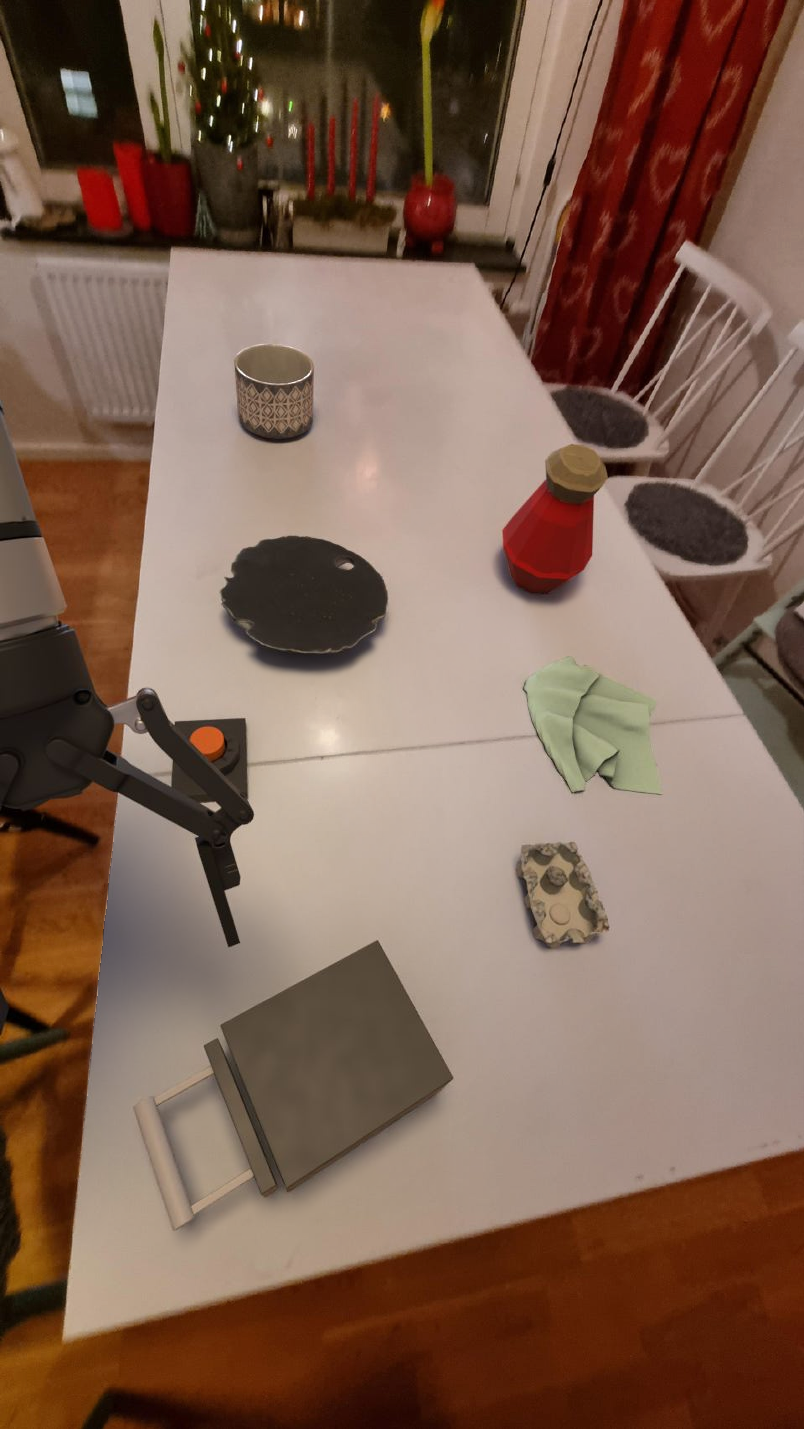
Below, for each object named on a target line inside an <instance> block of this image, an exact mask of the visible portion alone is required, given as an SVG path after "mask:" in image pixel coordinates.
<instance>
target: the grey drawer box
mask: <svg viewBox="0 0 804 1429" xmlns="http://www.w3.org/2000/svg"><path fill="white" fill-rule="evenodd" d="M220 1030H221V1031H222V1034H223V1037H224V1039H225V1042H226V1044H227V1047H228V1049H229V1052H230V1054H231V1057H232V1060H233V1062H234V1064H235V1066H236V1070H237V1072H238V1074H239V1076H240V1079H241V1081H242V1083H243V1086H244V1089H245V1091H246V1093H247V1096H248V1098H249V1101H250V1104H251V1106H252V1108H253V1111H254V1113H255V1116H256V1118H257V1121H258V1123H259V1125H260V1128H261V1130H262V1134H263V1136H264V1138H265V1140H266V1141H265V1142H266V1143H267V1146H268V1148H269V1150H270V1153H271V1155H272V1158H273V1160H274V1163H275V1165H276V1168H277V1170H278V1172H279V1173H278V1174H279V1175H280V1178H281V1180H282V1183H283V1186H284V1187H285V1190H286V1193H290V1192H291V1191H293V1190H294V1189H296V1188H298V1187H299V1186H300V1185H302V1184H303V1183H305V1182H306V1181H308V1180H309V1179H311V1178H313V1177H314V1176H315V1175H317V1174H319V1173H320V1172H322V1171H324V1169H326V1168H328V1167H330V1165H332V1164H334V1163H335V1162H337V1161H338V1160H340V1159H342V1158H343V1157H344V1156H345V1155H348V1154H349V1153H350V1152H352V1151H354V1150H355V1149H357V1148H358V1147H359V1146H361V1145H362V1144H364V1143H365V1142H367V1141H369V1140H370V1139H372V1138H373V1137H374V1136H376V1135H377V1134H379V1133H381V1132H382V1131H384V1130H385V1129H386V1128H388V1127H390V1126H391V1125H393V1124H394V1123H395V1122H398V1121H399V1120H400V1119H401V1118H403V1117H405V1116H406V1115H407V1114H409V1113H411V1112H413V1111H414V1110H415V1109H417V1108H418V1107H420V1106H421V1105H423V1104H424V1103H426V1102H427V1101H429V1100H430V1099H432V1098H434V1097H435V1096H437V1094H439V1093H440V1092H441V1091H442V1090H444V1088H445V1087H446V1086H447V1085H449V1083H451V1082H452V1081H453V1080H454V1076H453V1074H452V1071H451V1070H450V1069H449V1067H448V1065H447V1063H446V1062H445V1060H444V1057H443V1056H442V1054H441V1052H440V1050H439V1048H438V1047H437V1045H436V1043H435V1041H434V1040H433V1037H432V1036H431V1034H430V1032H429V1030H428V1029H427V1027H426V1025H425V1023H424V1021H423V1019H422V1018H421V1016H420V1014H419V1012H418V1010H417V1008H416V1007H415V1005H414V1003H413V1001H412V999H411V997H410V996H409V993H408V992H407V990H406V988H405V987H404V984H403V983H402V981H401V980H400V978H399V976H398V974H397V972H396V970H395V969H394V967H393V964H392V963H391V961H390V960H389V957H388V955H387V954H386V952H385V950H384V948H383V947H382V945H381V943H380V941H379V940H378V939H376V940H374V941H373V942H371V943H369V944H366V945H365V946H364V947H362V948H360V949H357V950H356V951H354V952H352V953H351V954H349V955H347V956H344V957H343V958H341V959H339V960H337V961H336V962H333V963H332V964H330V965H328V966H326V967H324V968H322V969H320V970H319V971H317V972H315V973H314V974H312V975H310V976H308V977H306V978H304V979H302V980H300V981H299V982H297V983H295V984H293V985H291V986H289V987H287V988H285V989H284V990H281V991H280V992H278V993H277V994H275V995H273V996H270V997H269V998H267V999H266V1000H263V1001H261V1002H260V1003H258V1004H256V1005H254V1006H252V1007H251V1008H248V1009H247V1010H245V1011H243V1012H241V1013H240V1014H238V1015H236V1016H234V1017H233V1018H230V1019H228V1020H227V1021H224V1022H223V1023H221V1024H220Z"/></svg>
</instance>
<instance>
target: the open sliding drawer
mask: <svg viewBox="0 0 804 1429" xmlns="http://www.w3.org/2000/svg"><path fill="white" fill-rule="evenodd" d="M203 1048H204V1051H205V1053H206V1054H205V1055H206V1056H207V1059H208V1061H209V1063H210V1066H208V1067H205V1069H203V1070H201V1071H199V1072H197V1073H195V1074H194V1075H192V1076H189V1077H188V1078H186V1079H185V1080H183V1081H181V1082H180V1083H177V1084H176V1085H174V1086H172V1087H171V1088H169V1089H167V1090H166V1091H163V1092H162V1093H160V1094H158V1095H156V1096H153V1095H151V1096H147V1097H145V1098H143V1099H141V1100H140V1101H138V1102H136V1103H135V1104H134V1105H133V1107H132V1108H133V1112H134V1115H135V1118H136V1121H137V1124H138V1127H139V1130H140V1133H141V1136H142V1139H143V1141H144V1146H145V1149H146V1152H147V1155H148V1157H149V1161H150V1164H151V1167H152V1170H153V1174H154V1177H155V1179H156V1182H157V1185H158V1188H159V1192H160V1195H161V1198H162V1202H163V1204H164V1207H165V1210H166V1213H167V1216H168V1219H169V1222H170V1225H171V1229H172V1231H173V1232H176V1231H178V1230H179V1229H181V1228H183V1227H185V1226H187V1224H189V1223H191V1222H192V1221H194V1220H195V1219H196V1216H195V1215H197V1214H199V1213H200V1212H201V1211H203V1210H205V1209H206V1208H208V1207H209V1206H211V1205H212V1204H214V1203H216V1202H218V1201H219V1200H220V1199H222V1198H223V1197H225V1196H227V1195H228V1194H230V1193H231V1192H233V1191H235V1190H236V1189H238V1188H239V1187H241V1186H242V1185H243V1184H246V1183H247V1182H248V1181H250V1180H252V1179H253V1178H254V1181H255V1182H256V1185H257V1188H258V1190H259V1193H260V1195H262V1196H263V1197H264V1198H267V1197H269V1195H271V1194H273V1193H274V1192H276V1191H278V1190H279V1186H278V1183H277V1181H276V1179H275V1176H274V1173H273V1171H272V1168H271V1166H270V1163H269V1160H268V1158H267V1156H266V1153H265V1151H264V1148H263V1145H262V1143H261V1141H260V1138H259V1136H258V1133H257V1131H256V1128H255V1126H254V1123H253V1121H252V1118H251V1116H250V1113H249V1111H248V1108H247V1106H246V1104H245V1101H244V1098H243V1096H242V1093H241V1091H240V1088H239V1086H238V1083H237V1080H236V1078H235V1076H234V1073H233V1071H232V1068H231V1065H230V1063H229V1061H228V1059H227V1056H226V1053H225V1051H224V1049H223V1047H222V1044H221V1041H220V1039H219V1038H215V1039H212V1040H211V1041H209V1042H207V1043H205V1044H203ZM213 1075H214V1076H215V1080H216V1082H217V1085H218V1087H219V1089H220V1092H221V1095H222V1098H223V1100H224V1103H225V1105H226V1107H227V1111H228V1113H229V1115H230V1118H231V1121H232V1124H233V1126H234V1128H235V1131H236V1134H237V1136H238V1138H239V1141H240V1144H241V1146H242V1150H243V1151H244V1154H245V1156H246V1157H245V1158H246V1159H247V1162H248V1164H249V1167H250V1168H248V1169H247V1170H245V1171H244V1172H242V1173H241V1174H239V1175H237V1176H236V1177H234V1178H233V1179H231V1180H230V1181H228V1182H226V1183H225V1184H223V1185H221V1186H220V1187H218V1188H217V1189H216V1190H214V1191H212V1192H211V1193H210V1194H207V1195H206V1196H204V1197H203V1198H201V1199H200V1200H198V1201H197V1202H195V1203H193V1204H191V1200H190V1198H189V1195H188V1192H187V1190H186V1186H185V1184H184V1181H183V1178H182V1175H181V1171H180V1169H179V1166H178V1163H177V1161H176V1158H175V1154H174V1151H173V1149H172V1146H171V1142H170V1140H169V1137H168V1134H167V1130H166V1128H165V1125H164V1122H163V1119H162V1116H161V1113H160V1111H159V1108H158V1107H159V1106H161V1105H163V1104H165V1103H166V1102H168V1101H169V1100H171V1099H173V1098H175V1097H177V1096H179V1095H180V1094H182V1093H184V1092H185V1091H187V1090H189V1089H191V1088H193V1087H195V1086H196V1085H198V1084H200V1083H201V1082H203V1081H205V1080H207V1079H209V1078H210V1077H212V1076H213Z"/></svg>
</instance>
